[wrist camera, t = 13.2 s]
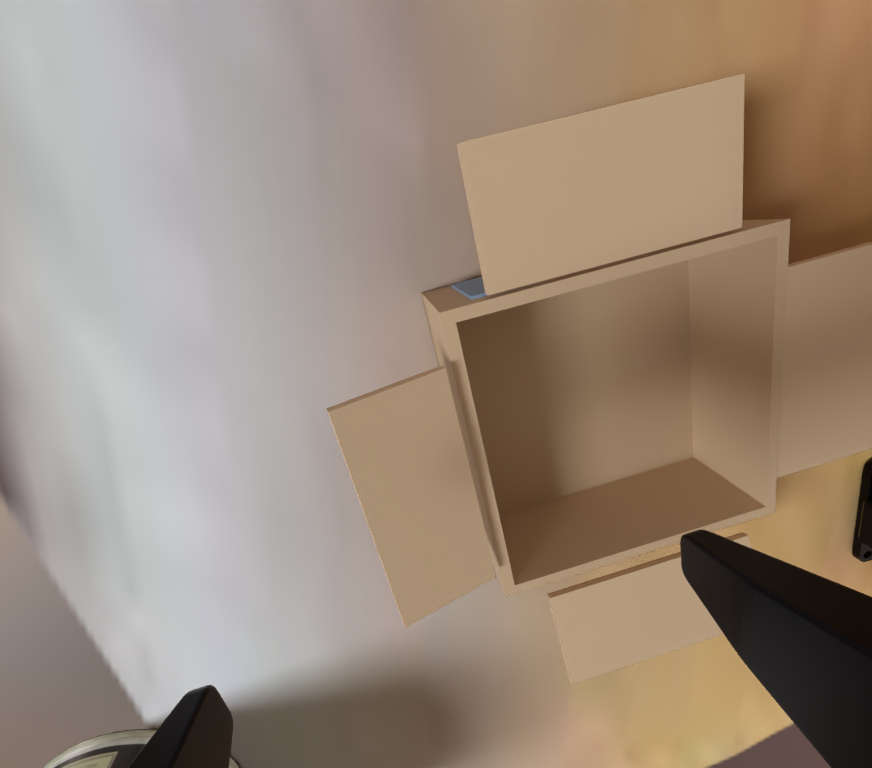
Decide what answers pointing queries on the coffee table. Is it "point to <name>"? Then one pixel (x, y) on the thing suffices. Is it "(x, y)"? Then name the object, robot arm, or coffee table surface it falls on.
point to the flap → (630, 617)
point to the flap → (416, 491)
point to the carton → (640, 337)
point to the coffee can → (107, 751)
